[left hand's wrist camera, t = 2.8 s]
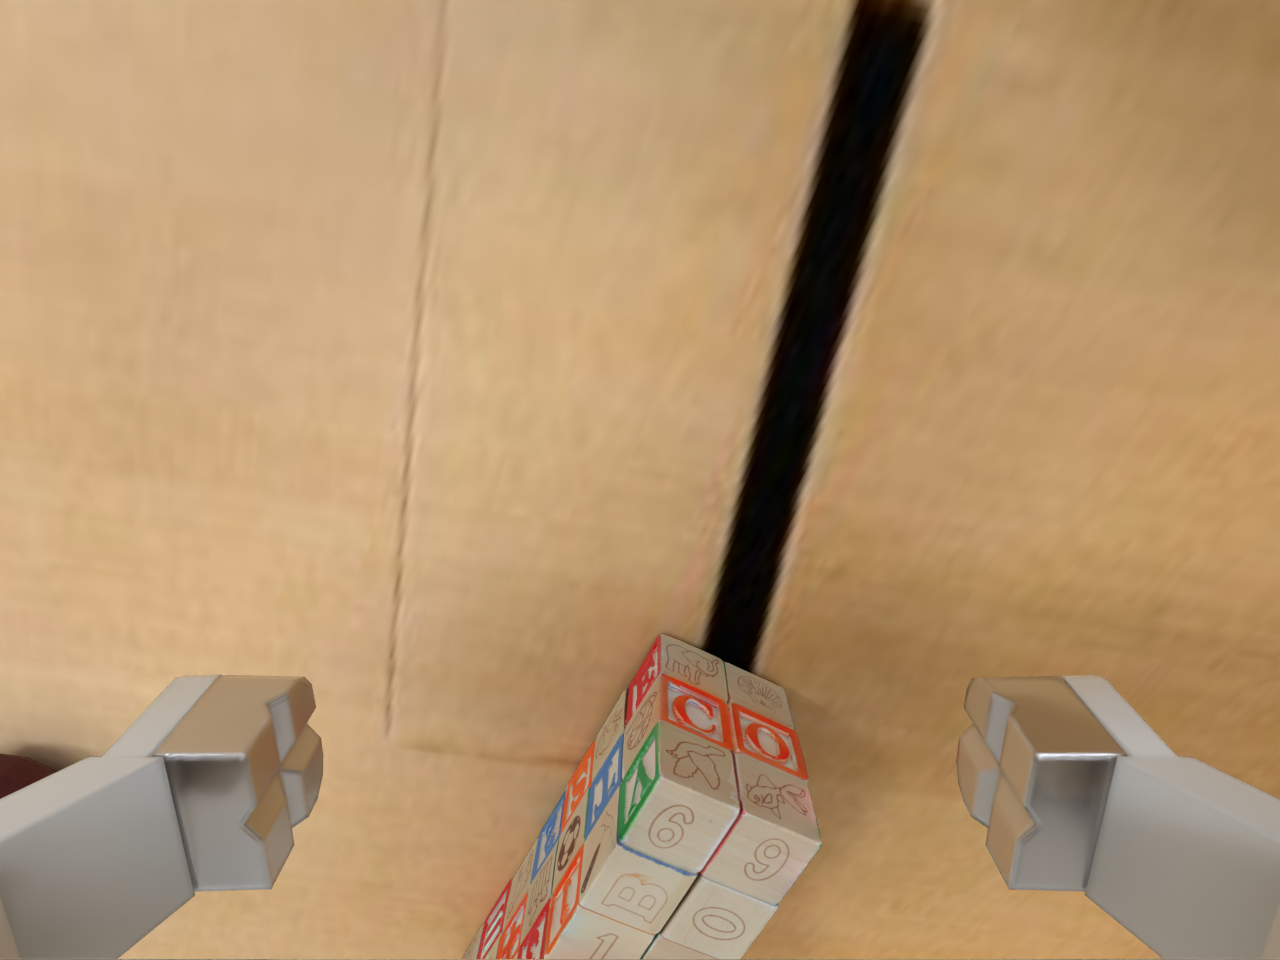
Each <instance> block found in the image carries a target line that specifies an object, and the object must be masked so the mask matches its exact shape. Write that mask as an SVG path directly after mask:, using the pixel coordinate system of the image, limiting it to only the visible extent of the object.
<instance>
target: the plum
mask: <svg viewBox="0 0 1280 960" xmlns="http://www.w3.org/2000/svg"><path fill="white" fill-rule="evenodd" d="M54 773H56V772H55V771H54V770H52V769H51V768H49V767H47V766H45V765H43V764H41V763H38V762H36V761H34V760H32V759H30V758H26V757H20V756H13V755H6V754H0V799H1V798H3V797H6V796H8V795H10V794H12V793H14V792H16V791H18V790H20V789H22V788H24V787H26V786H29V785H31V784H33V783H35V782H37V781H39V780H41V779H43V778H45V777H47V776H49V775H52V774H54Z"/></svg>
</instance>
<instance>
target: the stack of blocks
mask: <svg viewBox="0 0 1280 960" xmlns="http://www.w3.org/2000/svg"><path fill="white" fill-rule="evenodd" d="M808 781H809V778H808V773H807V770H806V766H805V762H804V758H803V754H802V750H801V747H800V743H799V739H798V736H797V734H796V732H795V726H794V723H793V719H792V716H791V712H790V708H789V705H788V702H787V698H786V694H785V690H784V688H782V687H780V686H777V685H775V684H773V683H771V682H769V681H767V680H765V679H763V678H760V677H758V676H756V675H754V674H752V673H749V672H747V671H745V670H743V669H740V668H738V667H736V666H734V665H732V664H729V663H727V662H723V661H722V660H721V659H720V658H718V657H716V656H713V655H711V654H709V653H707V652H705V651H703V650H700V649H698V648H696V647H693V646H691V645H689V644H686V643H684V642H682V641H680V640H677V639H675V638H672V637H670V636H667V635H664V634H659V636H658V637H657V639H656V641H655V642H654V644H653V646H652V648H651V649H650V651H649V653H648V655H647V656H646V658H645V660H644V662H643V663H642V665H641V667H640V669H639V670H638V672H637V673H636V675H635V677H634V679H633V680H632V682H631V683H630V687H629V689H626V690H624V692H623V693H622V695H621V696H620V698H619V700H618V701H617V703H616V705H615V706H614V708H613V710H612V711H611V713H610V715H609V717H608V718H607V720H606V722H605V723H604V725H603V727H602V728H601V730H600V732H599V733H598V735H597V738H596V740H595V741H594V742H593V743H592V745H591V746H590V748H589V749H588V751H587V753H586V754H585V756H584V758H583V759H582V761H581V763H580V764H579V766H578V767H577V769H576V771H575V772H574V774H573V776H572V778H571V779H570V781H569V782H568V784H567V788H566V791H565V792H564V794H563V795H562V797H561V799H560V801H559V802H558V804H557V806H556V807H555V809H554V810H553V812H552V814H551V815H550V817H549V819H548V820H547V822H546V824H545V825H544V827H543V829H542V830H541V832H540V835H539V837H538V838H537V840H536V841H535V843H534V844H533V846H532V848H531V849H530V851H529V853H528V854H527V856H526V858H525V859H524V861H523V863H522V864H521V866H520V868H519V869H518V871H517V873H516V874H515V876H514V878H513V879H512V880H510V881H509V883H508V884H507V886H506V888H505V889H504V891H503V892H502V894H501V896H500V897H499V899H498V901H497V902H496V904H495V906H494V907H493V909H492V910H491V912H490V914H489V915H488V917H487V919H486V921H485V923H484V924H483V925H482V926H481V928H480V929H479V931H478V933H477V934H476V936H475V938H474V939H473V941H472V943H471V944H470V946H469V947H468V949H467V951H466V952H465V954H464V956H463V958H462V959H741V957H742V956H743V955H744V953H745V952H746V951H747V949H748V948H749V947H750V945H751V944H752V943H753V941H754V940H755V939H756V937H757V936H758V935H759V933H760V932H761V931H762V929H763V928H764V927H765V925H766V924H767V922H768V921H769V920H770V918H771V917H772V916H773V914H774V913H775V912H776V910H777V909H778V905H779V902H780V901H781V900H782V898H783V897H784V896H785V895H786V893H787V892H788V891H789V889H790V888H791V887H792V885H793V884H794V882H795V881H796V879H797V878H798V877H799V876H800V874H801V873H802V872H803V871H804V870H805V868H806V866H807V864H808V863H809V862H810V861H811V860H812V858H813V857H814V856H815V854H816V853H817V852H818V850H819V849H820V847H821V845H822V841H821V838H820V833H819V828H818V824H817V820H816V816H815V812H814V809H813V805H812V800H811V796H810V792H809V789H808V785H807V782H808Z"/></svg>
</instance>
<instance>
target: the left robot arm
mask: <svg viewBox="0 0 1280 960" xmlns="http://www.w3.org/2000/svg"><path fill="white" fill-rule="evenodd" d="M315 708H316V704H315V699H314V694H313V689H312V684H311V683H310V682H309V681H308V680H307V679H306V678H305V677H289V676H240V675H226V676H222V675H185V676H181V677H177V678H175V679H174V680H173V681H172V682H171V683H170V684H169V685H168V686H167V687H166V688H165V690H164V691H163V692H162V693H161V694H160V695H159V696H158V697H157V698H156V699H155V700H154V701H153V702H152V704H151V705H150V706H149V707H148V708H147V709H146V710H145V711H144V712H143V713H142V714H141V715H140V717H139V718H138V719H137V720H136V721H135V722H134V723H133V724H132V725H131V726H130V727H129V728H128V729H127V731H126V732H125V733H124V734H123V735H122V736H121V737H120V738H119V739H118V740H117V741H116V742H115V743H114V745H113V746H112V747H111V748H110V749H109V750H108V751H107V752H106V753H105V754H104V755H103V756H102V757H87V758H85V759H83V760H81V761H79V762H77V763H75V764H72V765H70V766H68V767H66V768H64V769H62V770H60V771H58V772H56V773H54V774H52V775H49V776H47V777H45V778H43V779H41V780H39V781H37V782H35V783H33V784H31V785H29V786H26V787H24V788H22V789H20V790H18V791H16V792H14V793H12V794H10V795H8V796H6V797H3V798H1V799H0V960H1280V799H1278V798H1276V797H1274V796H1272V795H1270V794H1268V793H1266V792H1264V791H1262V790H1260V789H1258V788H1256V787H1253V786H1251V785H1249V784H1247V783H1245V782H1243V781H1241V780H1239V779H1237V778H1235V777H1233V776H1230V775H1228V774H1226V773H1224V772H1222V771H1220V770H1218V769H1216V768H1214V767H1212V766H1210V765H1208V764H1205V763H1203V762H1201V761H1199V760H1197V759H1195V758H1193V757H1178V756H1177V755H1176V754H1175V753H1174V752H1173V751H1172V750H1171V749H1170V748H1169V747H1168V746H1167V745H1166V743H1165V742H1164V741H1163V740H1162V739H1161V738H1160V737H1159V736H1158V735H1157V734H1156V733H1155V732H1154V731H1153V729H1152V728H1151V727H1150V726H1149V725H1148V724H1147V723H1146V722H1145V721H1144V720H1143V719H1142V718H1141V716H1140V715H1139V714H1138V713H1137V712H1136V711H1135V710H1134V709H1133V708H1132V707H1131V706H1130V705H1129V704H1128V702H1127V701H1126V700H1125V699H1124V698H1123V697H1122V696H1121V695H1120V694H1119V693H1118V692H1117V691H1116V689H1115V688H1114V687H1113V686H1112V685H1111V684H1110V683H1109V682H1108V681H1107V680H1106V679H1105V678H1102V677H1100V676H1098V675H1096V674H1092V675H1064V676H1046V677H1001V678H972V680H971V682H970V684H969V686H968V688H967V692H966V698H965V704H964V708H965V710H966V711H967V713H968V715H969V717H970V718H971V720H972V722H973V724H972V725H971V726H970V727H969V728H968V729H967V730H966V731H965V732H964V733H963V734H962V735H961V737H960V738H959V744H958V752H957V772H958V783H959V787H960V790H961V794H962V797H963V801H964V803H965V805H966V807H967V809H968V811H969V813H970V815H971V817H973V818H974V819H976V820H977V821H979V822H980V823H981V824H983V825H984V826H986V827H987V828H988V834H987V840H986V846H987V848H988V850H989V852H990V854H991V856H992V858H993V860H994V862H995V863H996V865H997V867H998V869H999V871H1000V873H1001V875H1002V877H1003V879H1004V881H1005V883H1006V884H1007V886H1008V888H1009V889H1017V890H1053V891H1086V892H1085V895H1086V896H1087V897H1088V898H1089V899H1091V900H1092V901H1093V902H1094V903H1095V904H1097V905H1098V906H1099V907H1100V908H1102V909H1103V910H1104V911H1105V912H1106V913H1108V914H1109V915H1110V916H1111V917H1113V918H1114V919H1115V920H1116V921H1117V922H1119V923H1120V924H1121V925H1122V926H1123V927H1125V928H1126V929H1127V930H1128V931H1130V932H1131V933H1132V934H1133V935H1134V936H1136V937H1137V938H1138V939H1139V940H1141V941H1142V942H1143V943H1144V944H1145V945H1147V946H1148V947H1149V948H1150V949H1152V950H1153V951H1154V952H1155V953H1156V954H1158V955H1159V956H1160V957H1161V958H1163V959H118V958H119V957H120V956H121V955H123V954H124V953H125V952H126V951H127V950H129V949H130V948H131V947H132V946H134V945H135V944H136V943H137V942H139V941H140V940H141V939H142V938H143V937H145V936H146V935H147V934H148V933H150V932H151V931H152V930H153V929H154V928H156V927H157V926H158V925H159V924H161V923H162V922H163V921H164V920H165V919H167V918H168V917H169V916H170V915H172V914H173V913H174V912H175V911H176V910H178V909H179V908H180V907H181V906H183V905H184V904H185V903H186V902H187V901H189V900H190V899H191V898H192V897H194V896H195V893H194V891H226V890H261V889H271V888H272V887H273V885H274V883H275V881H276V879H277V877H278V875H279V873H280V871H281V869H282V867H283V865H284V864H285V862H286V860H287V858H288V856H289V854H290V852H291V850H292V848H293V846H294V840H293V834H292V828H293V827H294V826H296V825H297V824H299V823H300V822H301V821H303V820H304V819H306V818H307V817H309V815H310V813H311V811H312V809H313V807H314V805H315V802H316V800H317V798H318V794H319V789H320V785H321V781H322V776H323V750H322V743H321V738H320V737H319V735H318V734H317V733H316V732H315V731H314V730H313V729H312V728H311V727H310V726H309V725H308V724H307V722H308V720H309V718H310V717H311V715H312V713H313V712H314V710H315Z"/></svg>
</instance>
